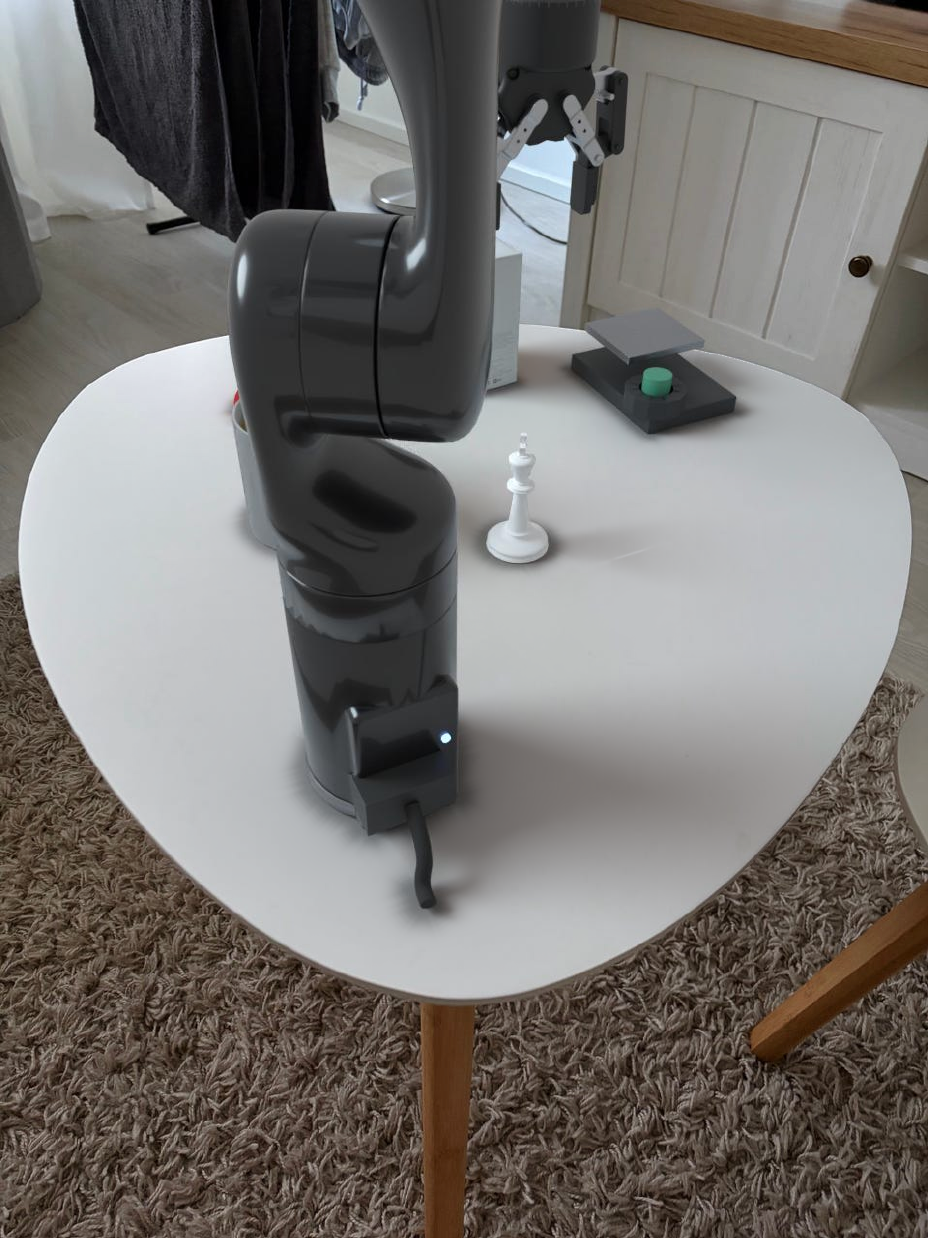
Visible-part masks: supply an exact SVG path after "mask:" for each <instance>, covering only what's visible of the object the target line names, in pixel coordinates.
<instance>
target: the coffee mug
mask: <svg viewBox="0 0 928 1238" xmlns="http://www.w3.org/2000/svg"><path fill="white" fill-rule="evenodd" d="M231 424H232V429H233V436H234V441H235V442H234V443H235V447H236V453H237V459H238V465H239V473H240V477H241V483H242V488H243V495H244V501H245V507H246V512H247V519H248V524H249V528H250V531H251V533H252V535H253V536H254V537H255V539H257V541H258V542H260V543H261V544H262V545H264V546H266V547H268V548H270V549H272V550H274V551H276V547H275V540H274V535H273V533H272V531H271V529H270V527H269V525H268V523H267V520H266V517H265V514H264V510H263V506H262V500H261V495H260V489H259V484H258V478H257V473H256V469H255V464H254V459H253V455H252V450H251V445H250V441H249V437H248V432H247V428H246V424H245V419H244V415H243V411H242V407H241V402H240V398H239V400H238V401H237V402H236V403H235V405H234V404H233V406H232V410H231Z"/></svg>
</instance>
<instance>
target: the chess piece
mask: <svg viewBox="0 0 928 1238" xmlns="http://www.w3.org/2000/svg"><path fill="white" fill-rule="evenodd" d="M519 438H520V440H519V449H518V450H515V451H513V452H512V453H510V455H509V456H508V463H509V465H510V468H511V472H512V476H513V477H511V478H509V479H508V481H507V482H506V488H507V490H508V491H509V492H511V493H512V494H513V497H512V502H511V508H510V512H509V518H508V519H507V520H503V521H500V522H498V523H496V524H494V525H493V526H492V527H491V528H490V529H489V531H488V533H487V537H486V548H487V550H488V551H489V553H490V554H491V555H492V556H493V557H495V558H496V559H498V560H501V561H504V562H507V563H512V564H526V563H532V562H535V561H537V560H540V559H541V558H542V557H543V556H545V555H546V553H547V552H548V551H549V550H548V549H549V546H550V544H549V536H548V533H547V532H546V530H545V528H543V527H542V526H541V525H539V524H537V523H536V522H534V521H531V520H530V519H529V508H528V494H530V493H532V492H534V490H535V489H536V484H535V481H534V480H533V479H532V478H530V476H531V473H532V470H533V468H534V467H535V465H536V462H537V457H536V456H535V454H534V453H532V452H531V451H527V440H528V433H527V432H521V433H520V436H519Z"/></svg>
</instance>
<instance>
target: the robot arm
mask: <svg viewBox="0 0 928 1238" xmlns="http://www.w3.org/2000/svg"><path fill="white" fill-rule="evenodd" d="M354 1H355V3H356V5H357V7H358V9H359V11H360V13H361V15H362V17H363V19H364V21H365V24H366V25H367V28H368V30H369V31H370V34H371V36H372V38H373V41H374V43H375V45H376V48H377V50H378V53H379V56H380V57H381V60H382V62H383V65H384V68H385V71H386V73H387V75H388V78H389V80H390V83H391V85H392V88H393V91H394V94H395V96H396V99H397V102H398V105H399V108H400V111H401V114H402V118H403V119H402V120H403V122H404V126H405V130H406V134H407V139H408V145H409V150H410V156H411V162H412V170H413V178H414V190H415V211H414V212H415V213H414V215H400V214H387V213H370V212H357V211H356V212H353V211H341V210H340V211H336V210H323V209H300V208H299V209H298V208H295V209H294V208H276V209H269V210H265V211H262V212H260V213H258V214H256V215H255V216H254V217H253V218H252V219H251V220H249V222H247V224H246V225H245V226H244V227H243V229H242V230H241V233H240V234H239V236H238V238H237V240H236V242H235V245H234V247H233V252H232V255H231V260H230V263H229V269H228V275H227V290H226V291H227V292H226V321H227V331H228V341H229V349H230V350H229V351H230V357H231V363H232V367H233V368H232V369H233V373H234V378H235V383H236V388H237V389H236V390H238V394H239V398H240V402H241V407H242V411H243V415H244V419H245V424H246V428H247V432H248V437H249V441H250V445H251V450H252V455H253V459H254V464H255V469H256V473H257V478H258V484H259V489H260V495H261V500H262V506H263V510H264V514H265V517H266V520H267V523H268V525H269V527H270V529H271V531H272V533H273V535H274V540H275V547H276V550H275V553H276V560H277V566H278V572H279V579H280V586H281V593H282V602H283V608H284V615H285V622H286V628H287V635H288V641H289V648H290V649H289V650H290V655H291V660H292V669H293V675H294V681H295V688H296V695H297V701H298V708H299V714H300V721H301V727H302V732H303V739H304V745H305V763H306V769H307V774H308V779H309V781H310V784H311V785H312V787H313V789H314V791H315V792H316V793H317V795H318V796H319V797H320V798H321V799H322V800H323V801H324V802H325V803H327V804H328V805H329V806H331V807H332V808H334V809H336V810H337V811H339V812H342V813H344V814H346V815H348V816H352V817H354V818H356V820H357V821H358V823H359V825H360V827H361V828H362V829H363V830H365V832H366V835H367V836H368V837H371V836H373V835H376V834H378V833H381V832H384V831H386V830H389V829H393V828H394V827H397V826H399V825H402V824H405V823H407V824H408V827H409V832H410V834H411V838H412V842H413V847H414V855H415V869H414V875H413V883H414V892H415V895H416V899H417V901H418V904H419V906H420V908H421V909H422V910H428V909H431V908H433V907H435V906H436V905H437V898H436V896H435V893H434V891H433V888H432V887H433V886H432V874H433V868H434V855H433V847H432V843H431V838H430V837H431V836H430V834H429V830H428V827H427V823H426V820H425V817H424V816H425V815H429V814H430V813H434V812H436V811H439V810H441V809H444V808H447V807H449V806H452V805H454V804H456V796H457V795H459V706H460V705H459V704H460V703H459V701H460V700H459V695H460V691H459V689H460V688H459V686H458V583H459V582H458V581H459V580H458V578H459V576H458V575H459V574H458V573H459V572H458V571H459V566H458V565H459V541H458V540H459V510H458V509H459V508H458V501H457V498H456V494H455V491H454V489H453V487H452V485H451V483H450V481H449V480H448V478H447V477H446V476H445V475H444V473H442V472H441V470H439V469H438V468H437V467H436V466H435V465H434V464H432V463H431V462H429V461H428V460H427V459H424V458H423V456H420V455H418V454H416V453H414V452H412V451H411V450H407V449H406V448H403V447H401V446H399V445H397V444H395V443H392V442H391V441H400V442H413V443H414V442H416V443H428V444H429V443H431V444H432V443H433V444H443V443H444V444H447V443H455V442H459V441H460V440H462V439H465V438H466V437H467V436H468V435H469V434H470V433H471V431H473V429H474V427H475V426H476V424H477V422H478V420H479V417H480V415H481V412H482V410H483V407H484V402H485V400H486V395H487V391H488V390H487V387H488V380H489V374H490V367H491V357H492V345H493V324H494V297H495V249H496V237H497V231H499V230H500V227H501V203H502V200H501V199H502V183H501V182H499V181H500V179H501V177H502V175H503V174H504V172H505V171H506V168H507V167H508V166H509V164H510V162H511V161H514V160H515V159H516V158H517V157H518V156H519V155H520V154H521V151H522V150H523V148H524V146H525V145H526V146H528V147H533V146H538V145H540V144H542V143H544V142H547V141H549V142H554V143H557V142H563V141H565V139H566V141H567V142H568V143H569V145H570V147H571V148H572V150H573V152H574V154H575V156H576V157H577V160H572V170H571V171H572V172H571V183H570V196H569V206H570V209H571V210H573V211H574V212H576V213H577V214H579V215H581V216H582V215H588V214H590V213H591V211H592V206H594V205H595V203H596V201H597V197H598V185H599V177H600V167H601V165H603V163H604V161H605V160H606V159H608V158H609V157H610V156H612V155H613V156H619V155H620V154H621V153H623V151H624V149H625V139H626V138H625V136H626V123H627V107H628V93H629V92H628V90H629V77H628V74H627V73H626V72H624V71H622V70H620V69H618V68H615V67H613V66H609V65H606V64H605V65H602V66H601V67H600V68H599V70H598V71H596V72H593V66H592V65H593V63H594V62H595V60H596V59H597V58H596V57H597V52H598V42H599V41H598V39H599V31H600V30H599V28H600V18H601V17H600V16H601V7H602V0H354ZM592 97H593V98H594V99H595V100H596V106H595V107H596V110H595V130H594V129H593V127H592V124H591V123H590V121H589V120H588V118H587V116H586V115H585V113H584V110H585V109H586V108H587V106H588V104H589V102H590V100H591V99H592ZM507 133H508V134H509V136H508V137H507V138H505V137H506V135H507ZM389 440H391V441H389Z"/></svg>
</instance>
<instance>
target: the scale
mask: <svg viewBox="0 0 928 1238" xmlns="http://www.w3.org/2000/svg"><path fill="white" fill-rule="evenodd" d="M570 366H571V367H570V369H571V371H573V372H574V373H575V374H576V375H577V376H578V377H580V378H581V379H582V380H583V381H584V382H586V383H587V384H588V385H589V386H590V387H591V388H593V389H594V390H595V391H596V392H597V393H598V394H599V395H600V396H602V397H603V398H604V399H605V400H607V402H609V403H610V404H611V405H612V406H614V407H615V408H616V409H617V410H618V411H620V412H621V414H623V415H624V416H625V417H626V418H627V419H629V420H630V421H631V422H632V423H633V424H635V425H636V426H637V427H638V428H639V429H640V430H641V431H643V432H644V433H645V434H646V435H651V434H656V433H659V432H663V431H665V430H670V429H675V428H678V427H682V426H686V425H689V424H693V423H697V422H701V421H704V420H708V419H711V418H715V417H719V416H723V415H728V414H732V413H735V407H736V403H737V398H738V397H737V396H736V395H735V394H734V393H732V392H731V391H730V390H728V389H727V388H725V386H723V385H722V384H720V383H719V382H717V380H715V379H714V378H712V377H710V376H709V375H708V374H706V373H705V372H704V371H702V370H701V369H700V368H699V367H697V366H695V365H694V364H693V363H691V362H690V361H689V360H687V359H686V358H685V357H684V356H682V355H681V354H680V353H677V354H673V355H669V356H664V357H660V358H656V359H652V360H647V361H643V362H639V363H635V364H630V365H628V364H626V363H625V362H624V361H623V360H621V359H620V358H619V357H617V356H616V355H615V354H614V353H612V352H611V351H610V350H609V349H607V348H606V347H605V346H603V347H598V348H594V349H589V350H585V351H581V352H576V353H573V354H571V365H570ZM653 367H659V368H664V369H667V370H669V371H670V372H671V373H672V382H671V388H670V393H669V395H665V396H651V395H648V394H645V393H643V392H642V391H641V388H642V381H643V373H644V371H645V370H646V369H648V368H653Z"/></svg>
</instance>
